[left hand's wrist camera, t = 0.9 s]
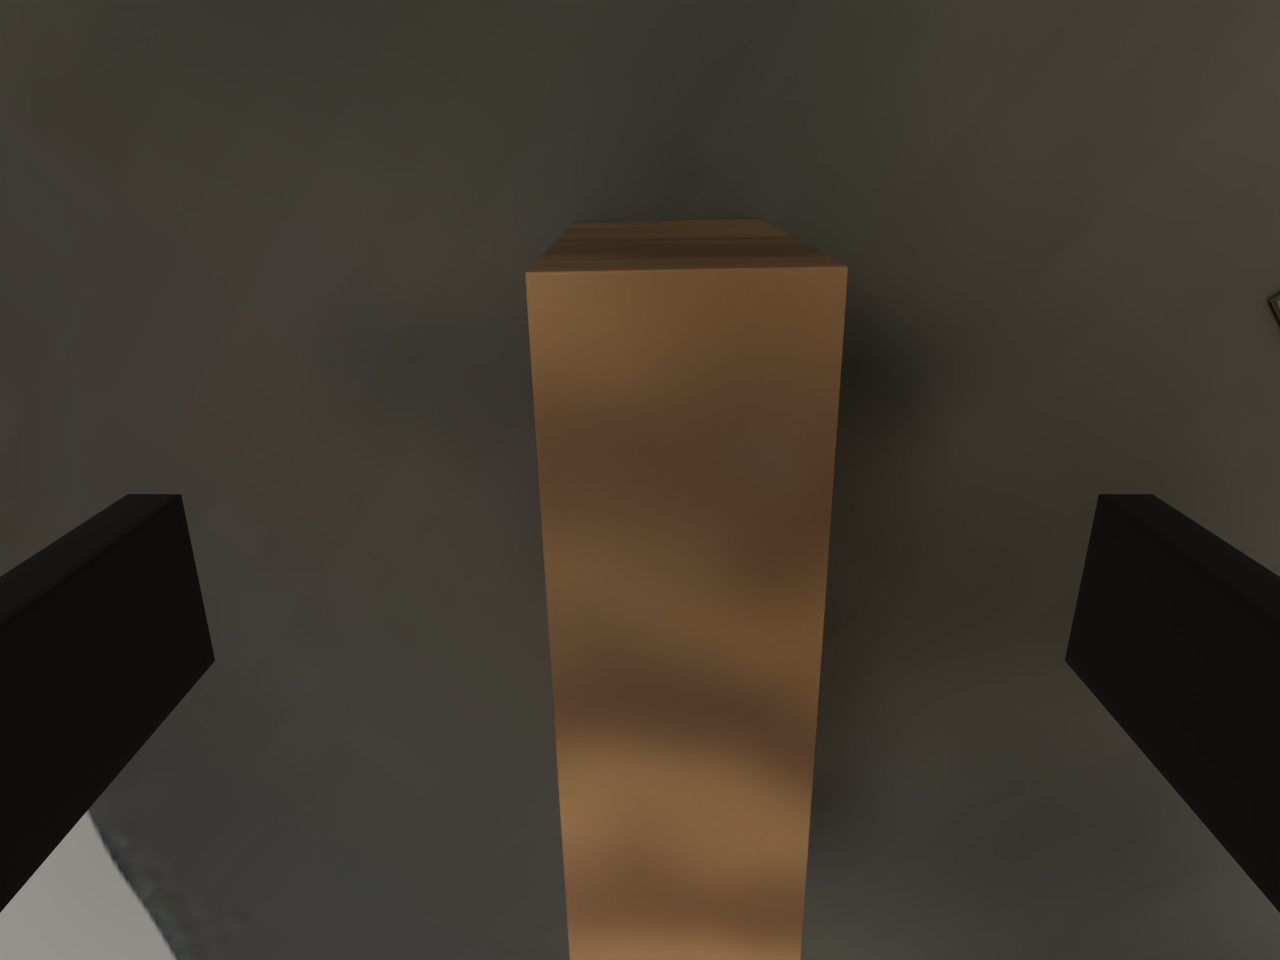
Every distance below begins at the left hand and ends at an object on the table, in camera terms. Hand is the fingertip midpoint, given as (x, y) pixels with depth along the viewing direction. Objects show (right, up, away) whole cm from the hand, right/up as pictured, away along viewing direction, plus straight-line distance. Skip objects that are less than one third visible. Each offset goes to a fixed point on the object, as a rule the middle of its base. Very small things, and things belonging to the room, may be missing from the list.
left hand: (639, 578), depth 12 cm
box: (+1, 0, +19) cm, 19 cm away
